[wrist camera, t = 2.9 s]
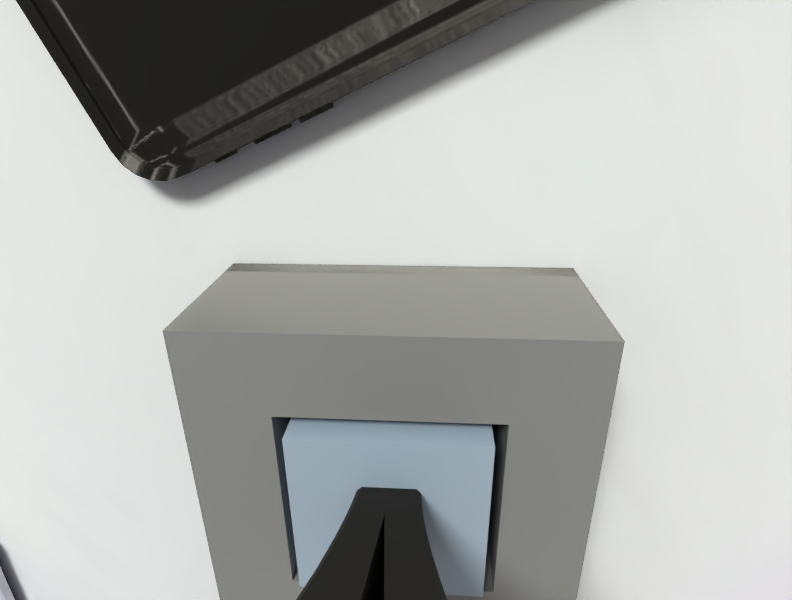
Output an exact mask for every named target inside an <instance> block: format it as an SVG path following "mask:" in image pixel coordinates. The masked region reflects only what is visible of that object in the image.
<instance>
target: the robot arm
mask: <svg viewBox="0 0 792 600" xmlns="http://www.w3.org/2000/svg"><path fill="white" fill-rule="evenodd" d="M0 600H15V598H14V596H13V594H12V592H11V589H10V587H9V585H8V583H7V581H6V578H5V576H4V574H3V572H2V569H1V567H0ZM296 600H447V598H446V595H445V592H444V589H443V586H442V583H441V581H440V577H439V574H438V571H437V568H436V564H435V561H434V558H433V555H432V551H431V548H430V544H429V540H428V536H427V531H426V527H425V522H424V517H423V510H422V499H421V493H420V492H419V491H418V490H417V489H401V488H378V487H361V488H359V489H358V490H357V491H356V494H355V496H354V499H353V501H352V503H351V506H350V508H349V510H348V512H347V514H346V516H345V518H344V520H343V522H342V524H341V526H340V528H339V530H338V532H337V534H336V536H335V538H334V539H333V541H332V543H331V545H330V546H329V548H328V550H327V551H326V553H325V555H324V557H323V558H322V560H321V562H320V564H319V565H318V567H317V568H316V570H315V572H314V573H313V575H312V576H311V578H310V579H309V581H308V582H307V584H306V585H305V587H304V589H303V590H302V592H301V593H300V595H299V596H298V598H297V599H296Z"/></svg>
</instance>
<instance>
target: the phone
mask: <svg viewBox="0 0 792 600" xmlns="http://www.w3.org/2000/svg"><path fill="white" fill-rule="evenodd" d="M16 1H17V3H18V4H19V6H20V8H21V9H22V11H23V12H24V14H25V15H26V17H27V19H28V20H29V22H30V23H31V25H32V27H33V28H34V30H35V31H36V33H37V34H38V36H39V38H40V39H41V41H42V42H43V44H44V46H45V47H46V49H47V50H48V52H49V53H50V55H51V57H52V58H53V60H54V61H55V63H56V65H57V66H58V68H59V69H60V71H61V73H62V74H63V76H64V77H65V79H66V80H67V82H68V84H69V85H70V87H71V88H72V90H73V92H74V93H75V95H76V96H77V98H78V99H79V101H80V103H81V104H82V106H83V107H84V109H85V111H86V112H87V114H88V115H89V117H90V118H91V120H92V122H93V123H94V125H95V126H96V128H97V130H98V131H99V133H100V134H101V136H102V137H103V139H104V141H105V142H106V144H107V145H108V147H109V149H110V150H111V152H112V153H113V154H114V155H115V157H116V158H117V159H118V160H119V161H120V163H121V164H122V165H123V166H125V167H126V168H127V169H129V170H130V171H131V172H133V173H134V174H136V175H138V176H141V177H143V178H146V179H149V180H157V181H167V180H170V179H174V178H177V177H180V176H183V175H185V174H187V173H190V172H192V171H194V170H196V169H198V168H200V167H202V166H204V165H206V164H208V163H210V162H212V161H215V162H216V163H217V162H220V161H222V160H224V159H226V158H228V157H230V156H232V155H234V154H236V153H238V152H237V149H239V148H241V147H243V146H245V145H247V144H249V143H251V142H253V141H254V142H255V144H258V143H260V142H262V141H264V140H266V139H268V138H270V137H272V136H274V135H276V134H278V133H280V132H282V131H284V130H286V129H288V128H290V127H292V126H291V124H290V123H291V122H293V121H295V120H297V119H299V120H300V122H301V123H302V122H304V121H306V120H308V119H310V118H312V117H314V116H316V115H318V114H320V113H322V112H324V111H326V110H328V109H330V108H332V107H334V106H333V104H332V102H333V101H335V100H337V99H339V98H341V97H343V96H345V95H347V94H349V93H351V92H353V91H355V90H357V89H359V88H361V87H363V86H365V85H367V84H369V83H371V82H373V81H375V80H377V79H379V78H381V77H383V76H385V75H387V74H390V73H392V72H394V71H396V70H398V69H400V68H402V67H404V66H406V65H408V64H410V63H412V62H414V61H416V60H418V59H420V58H422V57H424V56H426V55H428V54H430V53H432V52H434V51H436V50H438V49H440V48H442V47H444V46H446V45H448V44H450V43H452V42H454V41H456V40H458V39H460V38H462V37H464V36H466V35H468V34H470V33H472V32H474V31H476V30H478V29H480V28H482V27H484V26H486V25H488V24H490V23H492V22H494V21H496V20H498V19H500V18H502V17H504V16H506V15H508V14H510V13H512V12H514V11H516V10H518V9H520V8H522V7H524V6H526V5H528V4H530V3H532V2H534V1H536V0H16Z"/></svg>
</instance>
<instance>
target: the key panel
mask: <svg viewBox="0 0 792 600" xmlns="http://www.w3.org/2000/svg"><path fill="white" fill-rule="evenodd" d="M163 335H164V339H165V344H166V349H167V353H168V358H169V363H170V367H171V372H172V377H173V381H174V386H175V391H176V395H177V400H178V405H179V409H180V414H181V419H182V423H183V428H184V433H185V438H186V442H187V447H188V452H189V456H190V461H191V466H192V470H193V475H194V480H195V484H196V489H197V494H198V498H199V503H200V508H201V512H202V517H203V522H204V526H205V531H206V536H207V541H208V545H209V550H210V555H211V559H212V564H213V569H214V573H215V578H216V583H217V587H218V592H219V597H220V600H296V599H297V598H298V596H299V595H300V593H301V592H302V590H303V589H304V587H301V586H300V584H299V576H298V568H297V559H296V551H295V543H294V535H293V527H292V518H291V510H290V502H289V494H288V485H287V477H286V469H285V461H284V453H283V444H282V438H283V436H284V434H285V431H286V429H287V426H288V424H289V422H290V419H291V417H296V418H325V419H354V420H383V421H413V422H442V423H471V424H492V431H493V437H494V443H495V457H494V469H493V481H492V493H491V505H490V517H489V529H488V541H487V553H486V565H485V578H484V590H483V597H478V596H460V595H446V598H447V600H576V597H577V592H578V587H579V581H580V576H581V571H582V565H583V560H584V555H585V549H586V544H587V539H588V533H589V528H590V523H591V517H592V512H593V507H594V501H595V496H596V491H597V485H598V480H599V475H600V470H601V464H602V459H603V454H604V448H605V443H606V438H607V432H608V427H609V422H610V416H611V411H612V406H613V400H614V395H615V390H616V384H617V379H618V374H619V368H620V363H621V358H622V353H623V347H624V342H625V341H624V340H623V339H622V337H621V336H620V334H619V333H618V331H617V330H616V329H615V327H614V326H613V324H612V323H611V321H610V320H609V319H608V317H607V316H606V314H605V313H604V311H603V310H602V309H601V307H600V306H599V304H598V303H597V302H596V300H595V299H594V297H593V296H592V294H591V293H590V292H589V290H588V289H587V287H586V286H585V284H584V283H583V282H582V280H581V279H580V277H579V276H578V274H577V273H576V272H575V270H574V269H573V268H518V267H446V266H374V265H302V264H233V265H232V266H231V267H229V268H228V269H227V270H226V271H225V272H224V273H223V274H222V275H221V276H220V277H219V278H218V279H217V280H216V281H215V282H214V283H213V284H212V285H210V286H209V287H208V288H207V289H206V290H205V291H204V292H203V293H202V294H201V295H200V296H199V297H198V298H197V299H196V300H195V301H194V302H193V303H192V304H190V305H189V306H188V307H187V308H186V309H185V310H184V311H183V312H182V313H181V314H180V315H179V316H178V317H177V318H176V319H175V320H174V321H173V322H171V323H170V324H169V325H168V326H167V327H166V328H165V329H164V330H163Z"/></svg>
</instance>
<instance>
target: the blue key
mask: <svg viewBox="0 0 792 600" xmlns="http://www.w3.org/2000/svg"><path fill="white" fill-rule="evenodd" d="M282 444H283V453H284V461H285V469H286V477H287V485H288V494H289V502H290V510H291V518H292V527H293V535H294V543H295V551H296V559H297V568H298V576H299V584H300V586H301V587H305V585H306V584H307V582H308V581H309V579H310V578H311V576H312V575H313V573H314V572H315V570H316V568H317V567H318V565H319V564H320V562H321V560H322V558H323V557H324V555H325V553H326V551H327V550H328V548H329V546H330V545H331V543H332V541H333V539H334V538H335V536H336V534H337V532H338V530H339V528H340V526H341V524H342V522H343V520H344V518H345V516H346V514H347V512H348V510H349V508H350V506H351V503H352V501H353V499H354V496H355V494H356V491H357V490H358V489H359V488H361V487H378V488H401V489H417V490H418V491H419V492H420V493H421V499H422V510H423V517H424V522H425V527H426V531H427V536H428V540H429V544H430V548H431V551H432V555H433V558H434V561H435V564H436V568H437V571H438V574H439V577H440V581H441V583H442V586H443V589H444V592H445V595H460V596H478V597H483V590H484V578H485V565H486V553H487V541H488V529H489V517H490V505H491V493H492V481H493V469H494V457H495V443H494V437H493V431H492V424H471V423H442V422H413V421H383V420H354V419H325V418H296V417H291V419H290V422H289V424H288V426H287V429H286V431H285V434H284V436H283V438H282Z"/></svg>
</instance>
